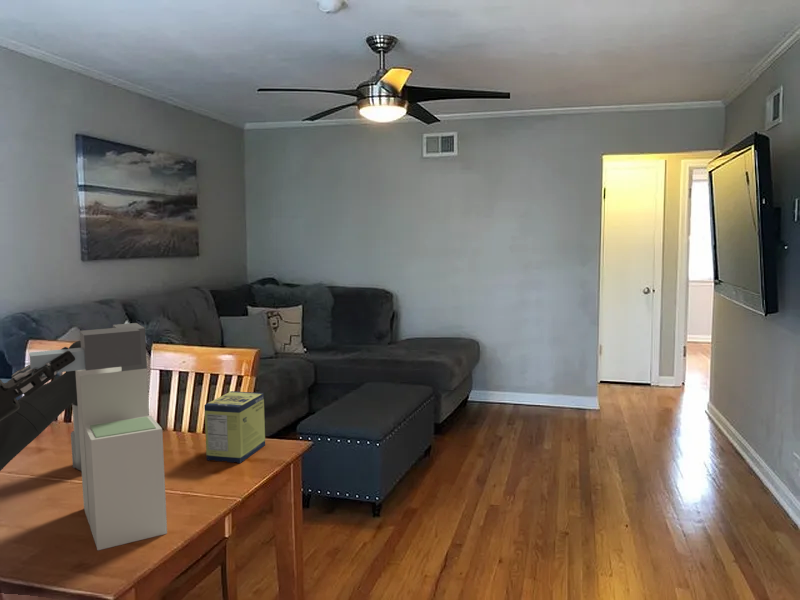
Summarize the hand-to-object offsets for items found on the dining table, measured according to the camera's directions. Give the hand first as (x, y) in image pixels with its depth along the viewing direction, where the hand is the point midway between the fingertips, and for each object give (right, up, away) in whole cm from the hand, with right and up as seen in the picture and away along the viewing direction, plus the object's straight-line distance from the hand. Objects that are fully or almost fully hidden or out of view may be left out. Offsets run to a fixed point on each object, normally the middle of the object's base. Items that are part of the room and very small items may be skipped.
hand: (70, 352), depth 124 cm
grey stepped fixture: (+4, -37, +13) cm, 40 cm away
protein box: (+18, -33, +56) cm, 67 cm away
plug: (+2, -3, +2) cm, 4 cm away
